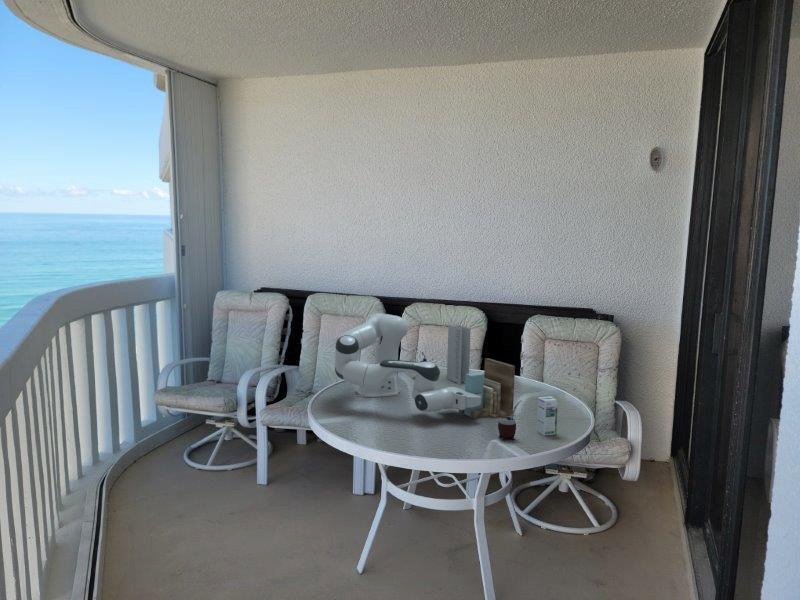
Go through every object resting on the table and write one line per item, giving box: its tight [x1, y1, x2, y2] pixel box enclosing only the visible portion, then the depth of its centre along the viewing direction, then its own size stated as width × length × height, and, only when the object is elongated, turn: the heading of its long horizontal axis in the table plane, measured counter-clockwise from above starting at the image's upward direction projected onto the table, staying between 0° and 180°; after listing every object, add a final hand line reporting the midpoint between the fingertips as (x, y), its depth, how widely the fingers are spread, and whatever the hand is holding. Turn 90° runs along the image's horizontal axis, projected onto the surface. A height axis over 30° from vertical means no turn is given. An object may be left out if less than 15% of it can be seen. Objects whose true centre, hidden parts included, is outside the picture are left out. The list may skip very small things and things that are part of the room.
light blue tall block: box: [463, 372, 484, 417], centre depth 254 cm, size 7×4×18 cm, turn 122°
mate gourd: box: [497, 399, 522, 441], centre depth 224 cm, size 8×8×15 cm
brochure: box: [446, 324, 472, 385], centre depth 312 cm, size 14×6×30 cm, turn 25°
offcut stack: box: [483, 378, 501, 414], centre depth 259 cm, size 5×13×13 cm, turn 31°
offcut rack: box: [458, 357, 516, 419], centre depth 257 cm, size 19×18×22 cm
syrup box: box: [536, 396, 559, 437], centre depth 231 cm, size 6×6×14 cm
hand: (475, 393), depth 255 cm, fingers open, 5 cm apart
